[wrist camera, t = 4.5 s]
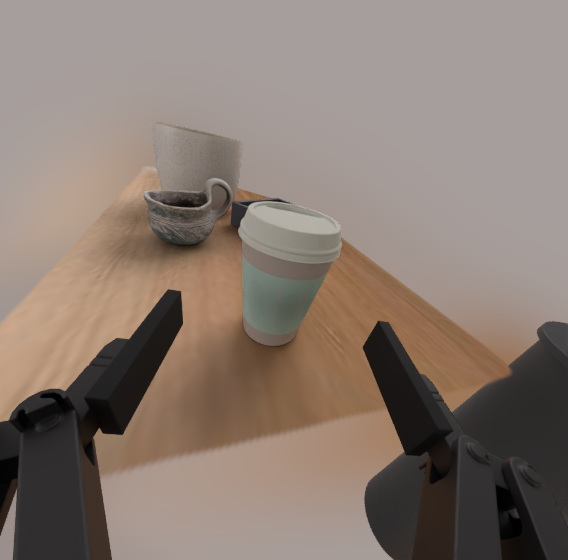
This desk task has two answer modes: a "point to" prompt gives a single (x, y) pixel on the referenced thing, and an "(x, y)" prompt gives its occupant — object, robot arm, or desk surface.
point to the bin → (241, 208)
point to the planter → (196, 160)
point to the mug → (185, 213)
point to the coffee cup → (283, 266)
